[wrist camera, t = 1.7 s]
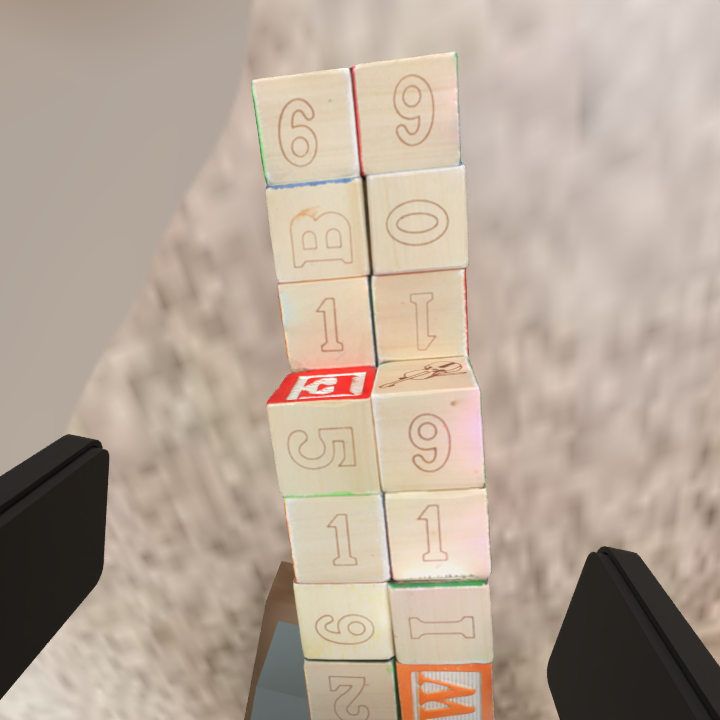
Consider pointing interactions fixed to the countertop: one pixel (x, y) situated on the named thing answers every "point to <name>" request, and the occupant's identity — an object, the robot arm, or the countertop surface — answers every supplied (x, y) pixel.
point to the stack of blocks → (379, 390)
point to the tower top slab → (282, 679)
